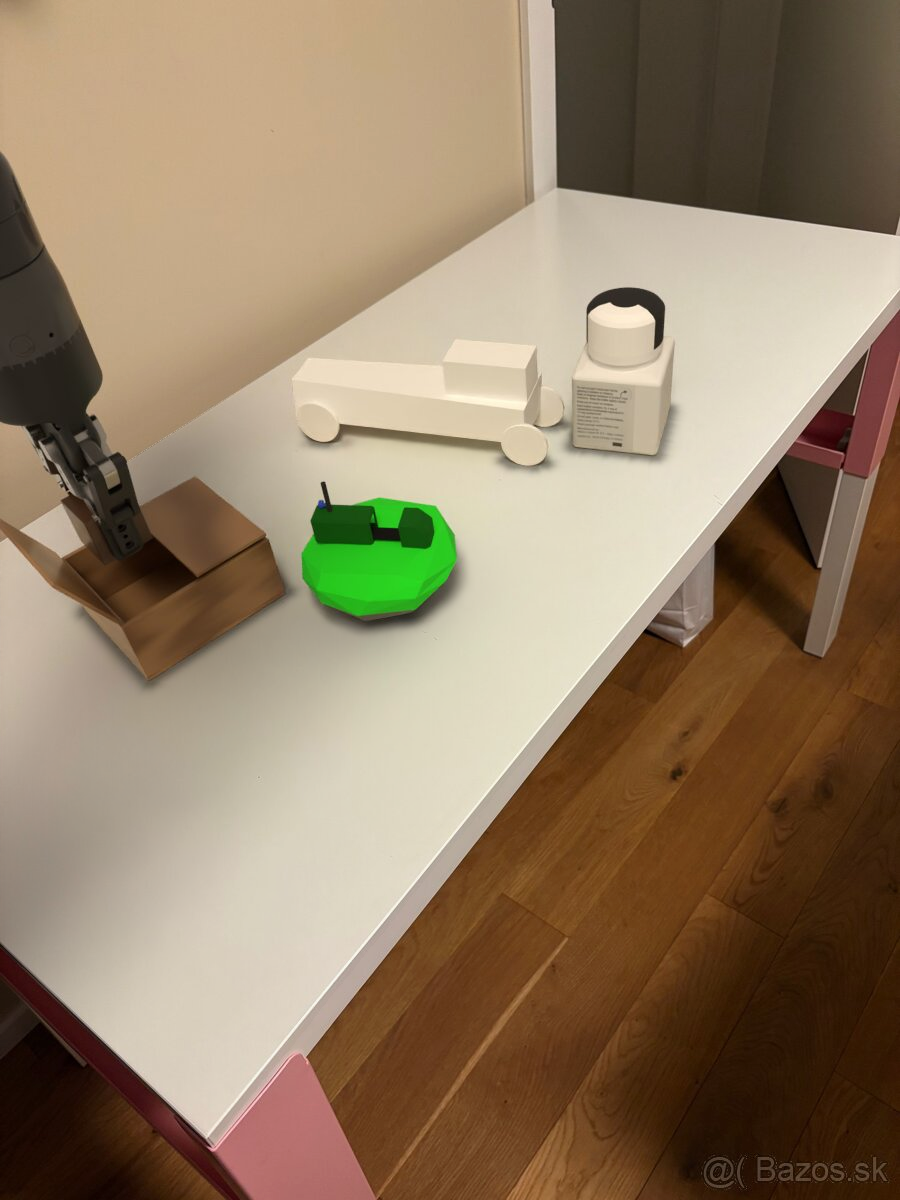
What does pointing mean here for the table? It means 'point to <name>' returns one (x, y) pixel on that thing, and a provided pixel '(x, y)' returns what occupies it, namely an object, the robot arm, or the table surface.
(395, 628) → the table surface
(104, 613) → the flap
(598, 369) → the container
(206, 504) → the carton
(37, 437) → the robot arm
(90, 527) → the block
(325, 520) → the green domed toy
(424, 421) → the toy truck
